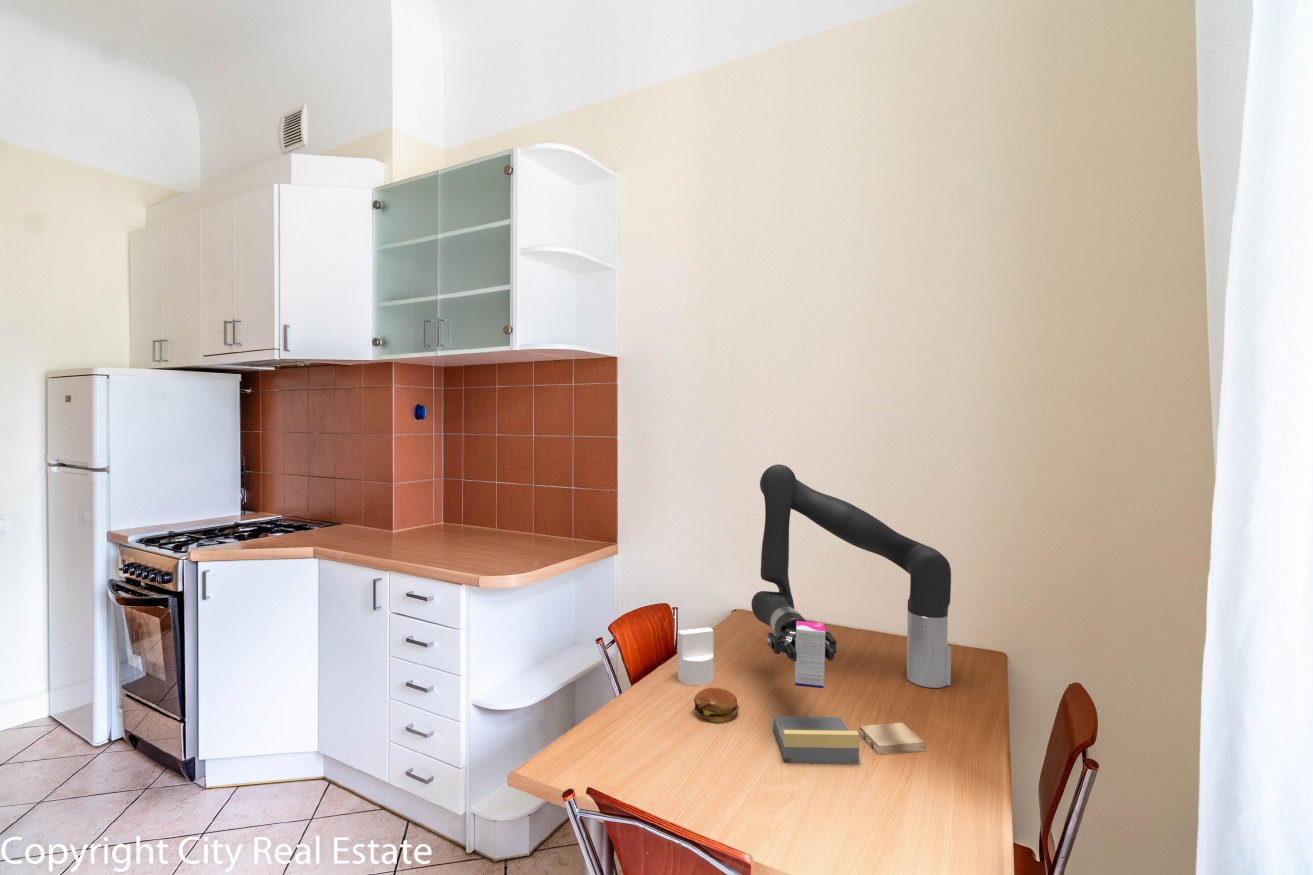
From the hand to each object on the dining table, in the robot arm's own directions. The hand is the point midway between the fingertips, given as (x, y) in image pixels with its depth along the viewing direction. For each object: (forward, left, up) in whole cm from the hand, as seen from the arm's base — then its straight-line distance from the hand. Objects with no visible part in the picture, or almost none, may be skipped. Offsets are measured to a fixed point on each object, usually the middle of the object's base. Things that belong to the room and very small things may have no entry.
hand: (813, 656), depth 119 cm
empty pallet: (-16, -1, -18) cm, 24 cm away
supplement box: (0, -2, -6) cm, 7 cm away
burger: (+18, -13, -18) cm, 29 cm away
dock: (0, +1, -18) cm, 18 cm away
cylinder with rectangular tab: (+22, -31, -18) cm, 42 cm away
